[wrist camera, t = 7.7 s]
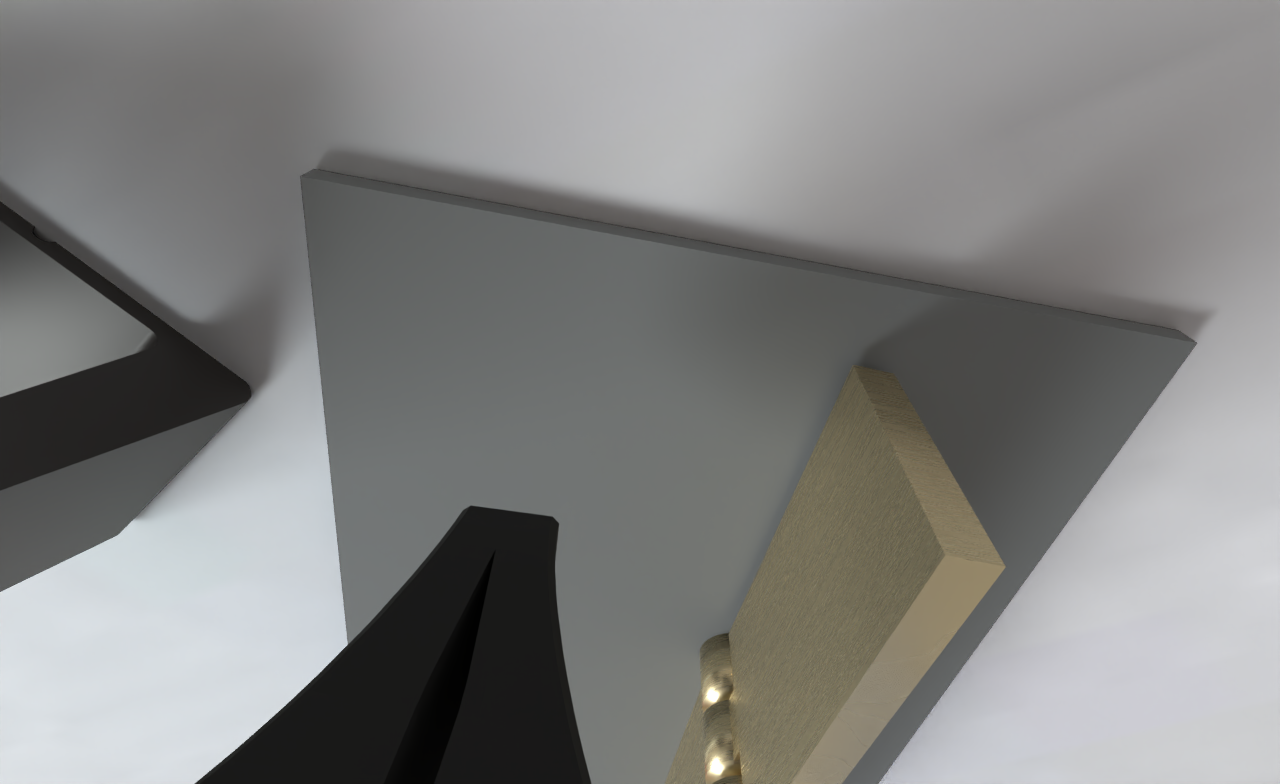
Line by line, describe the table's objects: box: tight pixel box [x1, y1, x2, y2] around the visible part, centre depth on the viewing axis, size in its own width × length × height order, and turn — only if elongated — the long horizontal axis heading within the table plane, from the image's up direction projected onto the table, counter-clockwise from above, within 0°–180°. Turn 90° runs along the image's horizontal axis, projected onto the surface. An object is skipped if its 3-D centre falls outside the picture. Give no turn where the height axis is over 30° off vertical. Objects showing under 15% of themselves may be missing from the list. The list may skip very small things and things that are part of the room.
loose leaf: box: [703, 365, 1006, 784], centre depth 13 cm, size 10×2×5 cm, turn 167°
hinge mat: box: [300, 169, 1197, 784], centre depth 17 cm, size 16×21×1 cm
